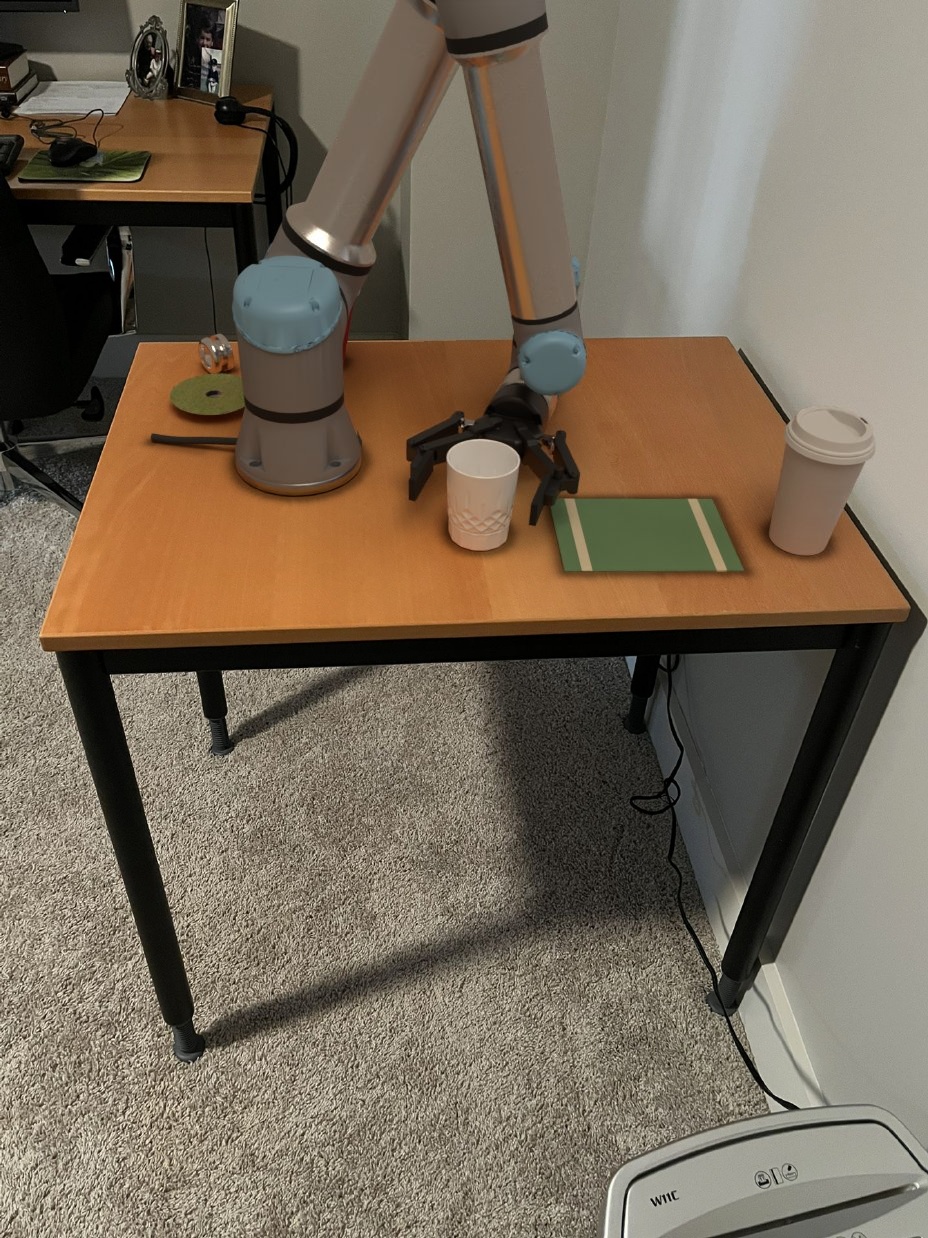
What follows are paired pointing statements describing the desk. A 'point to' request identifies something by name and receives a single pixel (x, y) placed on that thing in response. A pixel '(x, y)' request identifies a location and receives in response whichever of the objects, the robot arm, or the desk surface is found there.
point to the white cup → (481, 492)
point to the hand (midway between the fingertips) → (471, 502)
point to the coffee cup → (818, 476)
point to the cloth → (642, 536)
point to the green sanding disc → (209, 394)
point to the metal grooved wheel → (216, 353)
